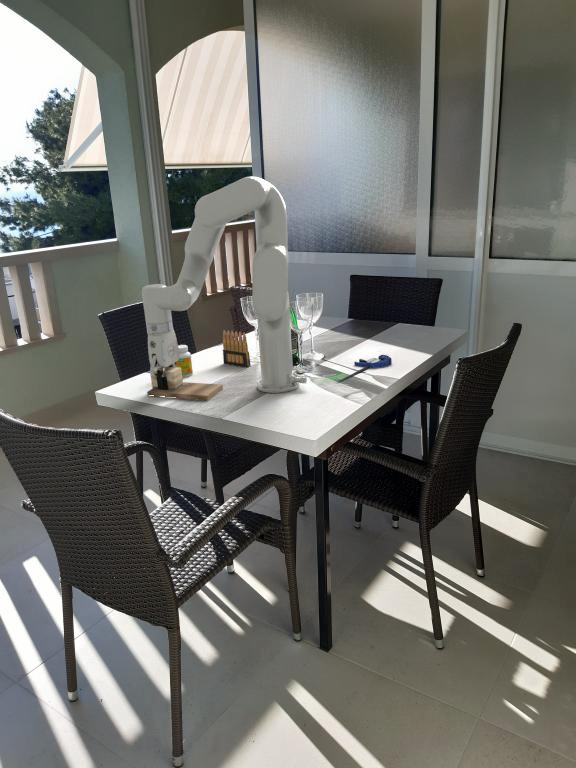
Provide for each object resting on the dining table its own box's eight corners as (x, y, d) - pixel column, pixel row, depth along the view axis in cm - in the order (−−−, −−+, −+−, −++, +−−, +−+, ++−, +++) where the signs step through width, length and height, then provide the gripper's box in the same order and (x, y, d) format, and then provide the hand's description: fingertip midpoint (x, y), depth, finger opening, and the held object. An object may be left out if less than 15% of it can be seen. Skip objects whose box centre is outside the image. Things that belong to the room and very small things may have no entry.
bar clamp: (369, 351, 204) (395, 355, 197) (369, 358, 205) (395, 363, 198) (310, 382, 181) (337, 388, 175) (310, 389, 182) (337, 395, 176)
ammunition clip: (223, 363, 209) (220, 329, 205) (227, 362, 210) (223, 328, 206) (247, 367, 202) (244, 332, 199) (250, 366, 204) (247, 331, 200)
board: (222, 389, 183) (222, 384, 182) (207, 400, 174) (207, 395, 174) (164, 385, 190) (164, 381, 189) (147, 396, 181) (147, 391, 180)
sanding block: (183, 384, 184) (181, 367, 182) (175, 389, 180) (173, 372, 178) (160, 383, 187) (157, 366, 185) (152, 388, 183) (149, 370, 181)
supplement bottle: (177, 378, 196) (173, 349, 193) (175, 373, 201) (172, 345, 198) (193, 376, 197) (190, 347, 194) (191, 371, 202) (188, 343, 199)
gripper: (155, 334, 169) (164, 396, 174) (185, 320, 184) (191, 378, 189) (132, 334, 171) (141, 395, 177) (163, 320, 186) (170, 376, 192)
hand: (167, 385), depth 183 cm, fingers closed on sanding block, 4 cm apart
